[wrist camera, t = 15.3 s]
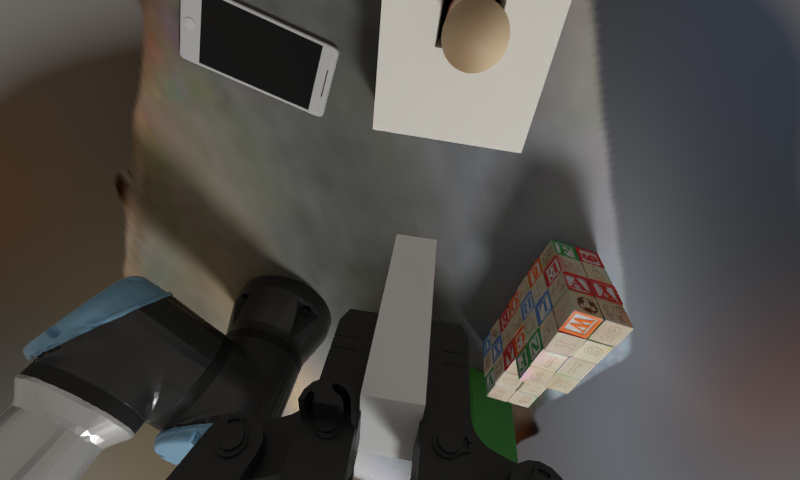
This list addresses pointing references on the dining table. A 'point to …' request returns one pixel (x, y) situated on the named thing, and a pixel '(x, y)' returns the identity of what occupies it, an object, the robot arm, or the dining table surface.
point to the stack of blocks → (554, 327)
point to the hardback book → (491, 418)
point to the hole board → (463, 75)
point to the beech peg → (475, 34)
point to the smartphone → (258, 52)
